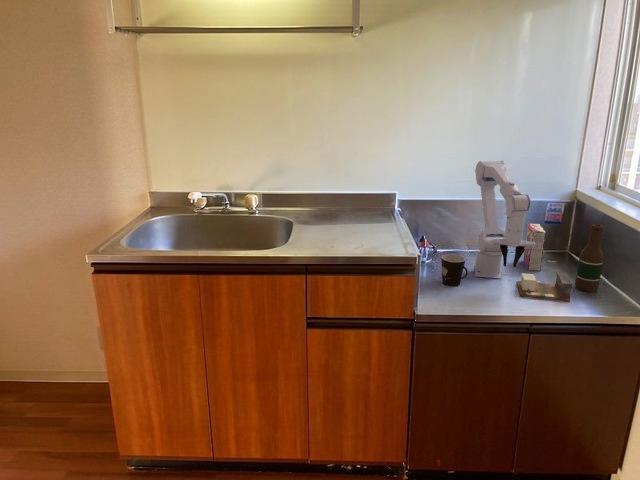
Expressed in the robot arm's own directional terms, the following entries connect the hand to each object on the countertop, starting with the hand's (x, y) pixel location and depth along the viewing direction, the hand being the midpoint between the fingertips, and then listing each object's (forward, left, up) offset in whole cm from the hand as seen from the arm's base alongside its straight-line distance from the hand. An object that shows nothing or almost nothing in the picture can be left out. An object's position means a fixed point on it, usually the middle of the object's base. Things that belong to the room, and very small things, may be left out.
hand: (509, 265), depth 173 cm
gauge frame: (+12, +1, -9) cm, 15 cm away
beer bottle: (+28, +9, -10) cm, 31 cm away
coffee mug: (-19, 0, -10) cm, 21 cm away
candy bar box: (+12, +28, -10) cm, 32 cm away
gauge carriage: (+8, 0, -8) cm, 11 cm away
